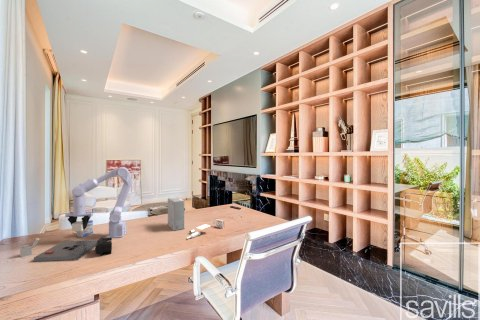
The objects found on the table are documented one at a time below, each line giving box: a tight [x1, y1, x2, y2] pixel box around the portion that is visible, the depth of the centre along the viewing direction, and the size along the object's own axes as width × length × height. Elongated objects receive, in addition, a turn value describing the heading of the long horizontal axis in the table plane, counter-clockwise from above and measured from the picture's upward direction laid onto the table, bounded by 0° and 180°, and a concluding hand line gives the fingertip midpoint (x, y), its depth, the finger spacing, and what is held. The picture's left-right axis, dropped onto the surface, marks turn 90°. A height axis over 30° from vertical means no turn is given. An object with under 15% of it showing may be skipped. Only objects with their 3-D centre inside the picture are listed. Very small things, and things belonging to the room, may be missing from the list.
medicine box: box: [76, 219, 94, 238], centre depth 139 cm, size 8×4×9 cm, turn 168°
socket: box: [33, 239, 98, 262], centre depth 115 cm, size 20×20×2 cm
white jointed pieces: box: [185, 218, 225, 240], centre depth 145 cm, size 10×6×30 cm
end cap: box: [94, 236, 113, 257], centre depth 115 cm, size 10×7×7 cm
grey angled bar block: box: [19, 237, 40, 258], centre depth 112 cm, size 7×2×8 cm, turn 130°
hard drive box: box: [167, 197, 185, 231], centre depth 156 cm, size 16×8×20 cm, turn 34°
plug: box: [71, 220, 86, 233], centre depth 129 cm, size 5×5×6 cm
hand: (79, 228), depth 129 cm, fingers closed on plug, 5 cm apart
